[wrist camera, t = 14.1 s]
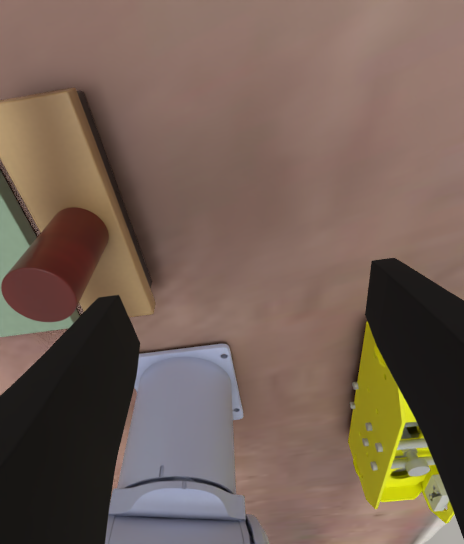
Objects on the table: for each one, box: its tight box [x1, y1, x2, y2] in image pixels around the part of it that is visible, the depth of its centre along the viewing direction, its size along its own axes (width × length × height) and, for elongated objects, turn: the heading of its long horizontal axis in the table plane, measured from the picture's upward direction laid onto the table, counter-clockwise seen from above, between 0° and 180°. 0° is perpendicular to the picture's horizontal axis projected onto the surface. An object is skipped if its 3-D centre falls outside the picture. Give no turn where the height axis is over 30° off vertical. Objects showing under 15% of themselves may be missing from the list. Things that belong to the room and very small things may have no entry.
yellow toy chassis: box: [348, 321, 454, 523], centre depth 25 cm, size 16×6×8 cm, turn 7°
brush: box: [0, 88, 156, 322], centre depth 16 cm, size 4×12×8 cm, turn 9°
